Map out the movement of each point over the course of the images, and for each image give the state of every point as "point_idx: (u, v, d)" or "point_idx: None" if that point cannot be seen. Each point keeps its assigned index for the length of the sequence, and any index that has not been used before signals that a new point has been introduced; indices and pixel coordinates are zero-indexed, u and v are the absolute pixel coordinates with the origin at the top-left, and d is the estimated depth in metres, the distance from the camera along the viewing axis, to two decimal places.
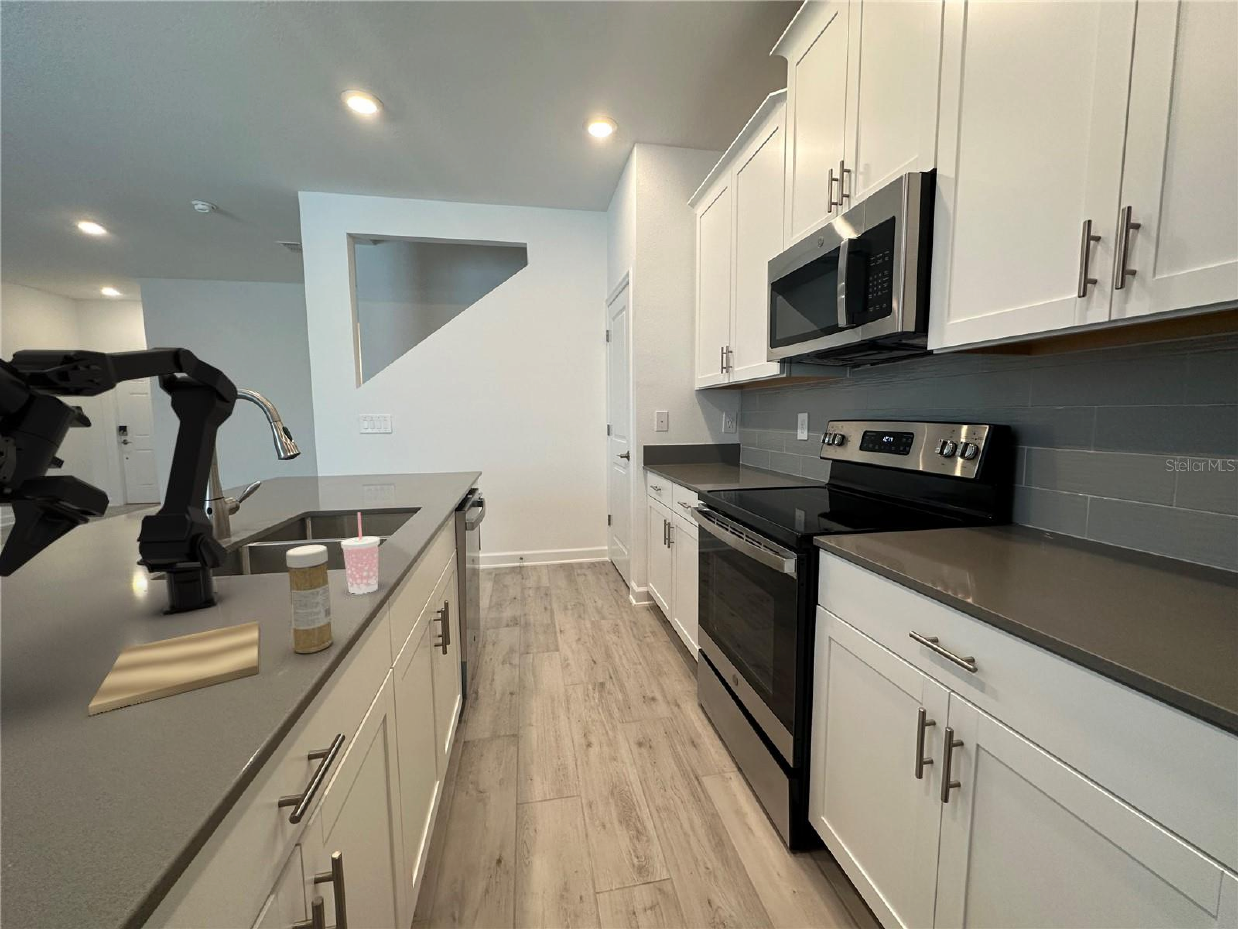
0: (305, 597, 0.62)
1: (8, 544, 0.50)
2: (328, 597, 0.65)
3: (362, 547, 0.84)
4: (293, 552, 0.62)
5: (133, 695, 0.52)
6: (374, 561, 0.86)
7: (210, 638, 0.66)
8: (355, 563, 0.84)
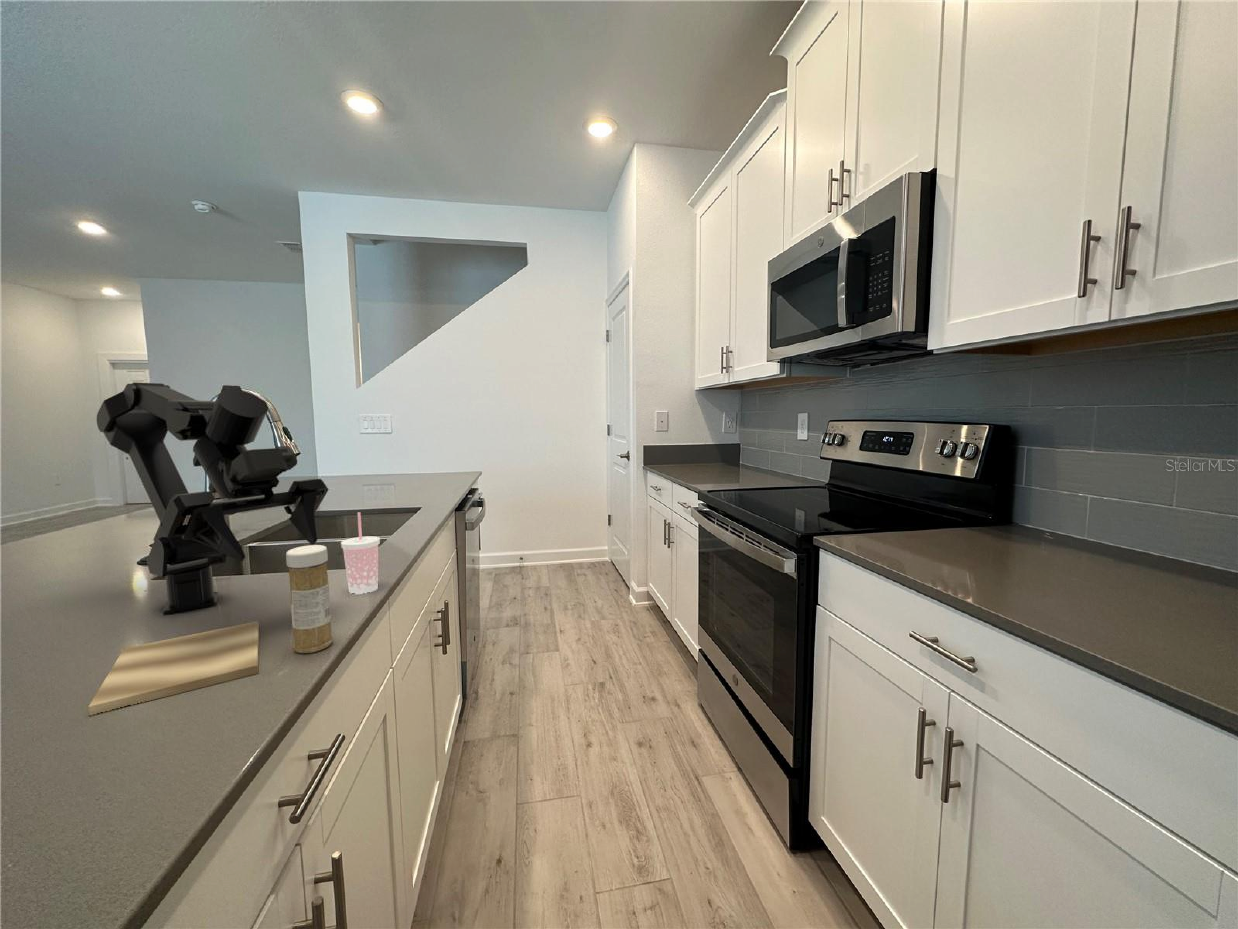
0: (305, 597, 0.62)
1: (308, 523, 0.71)
2: (328, 597, 0.65)
3: (362, 547, 0.84)
4: (293, 552, 0.62)
5: (133, 695, 0.52)
6: (374, 561, 0.86)
7: (210, 638, 0.66)
8: (355, 563, 0.84)
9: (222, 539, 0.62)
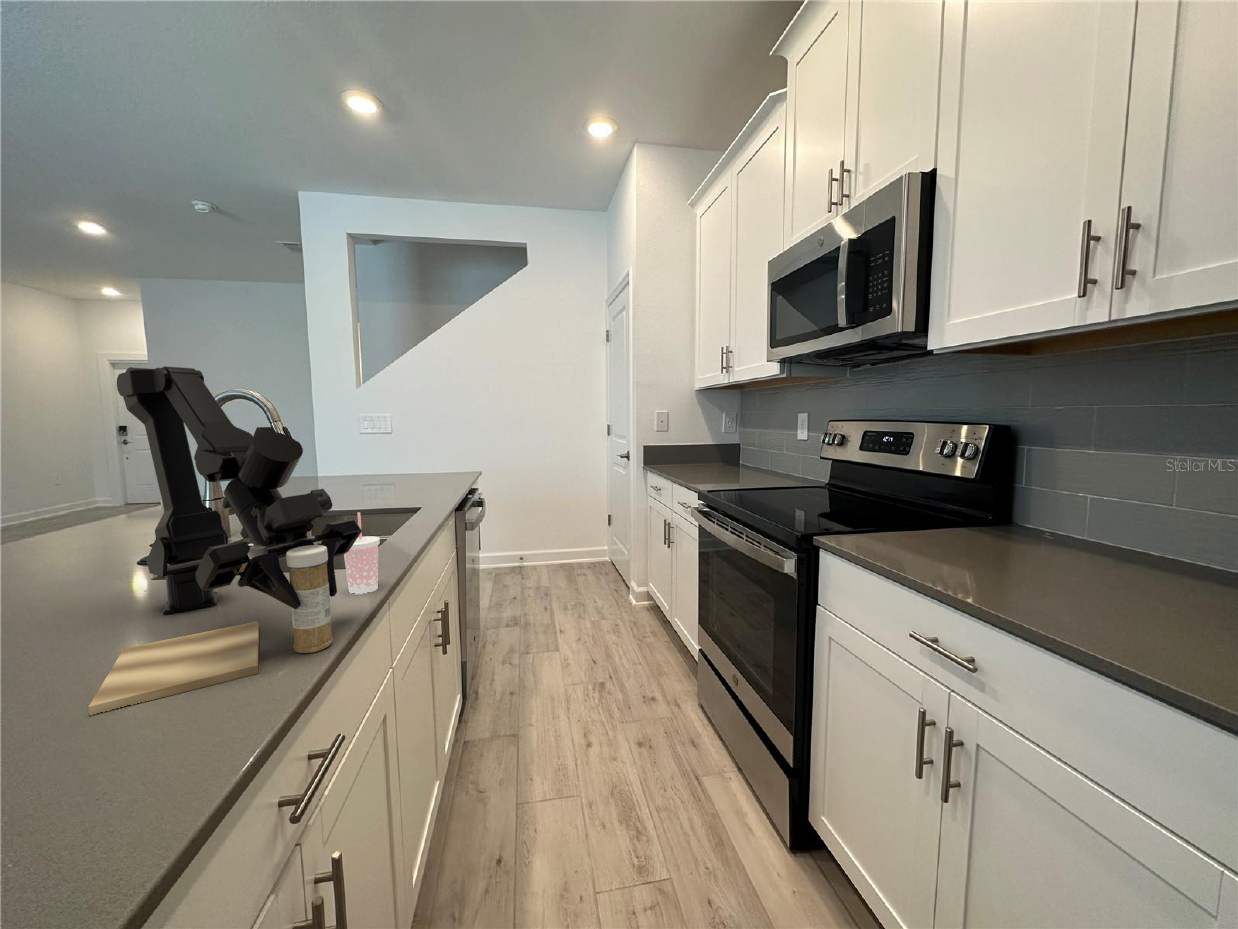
0: (305, 597, 0.62)
1: (327, 573, 0.67)
2: (328, 597, 0.65)
3: (362, 547, 0.84)
4: (293, 552, 0.62)
5: (133, 695, 0.52)
6: (374, 561, 0.86)
7: (210, 638, 0.66)
8: (354, 563, 0.84)
9: (278, 587, 0.61)
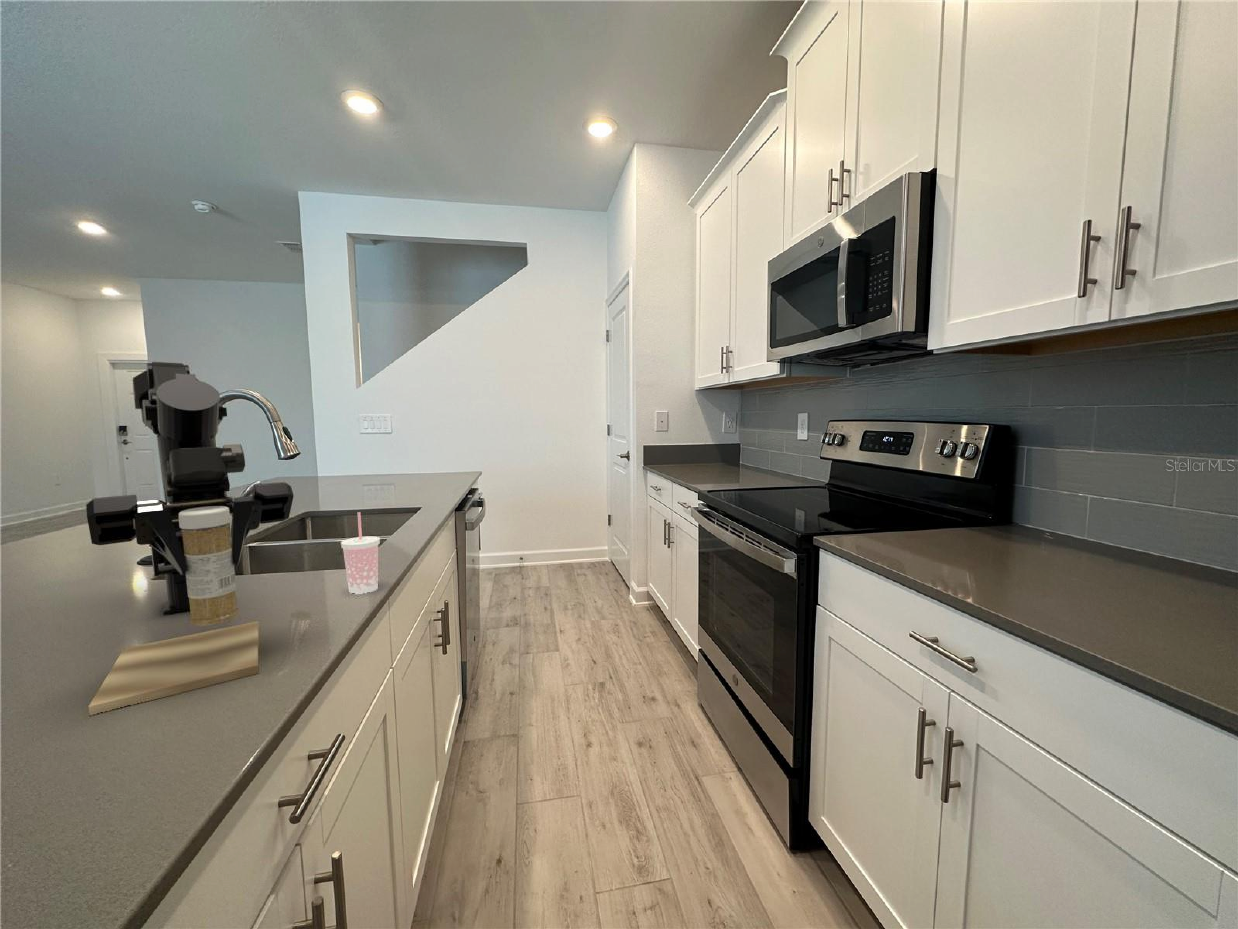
0: (193, 563, 0.55)
1: (234, 538, 0.59)
2: (227, 566, 0.58)
3: (362, 547, 0.84)
4: (184, 511, 0.55)
5: (133, 695, 0.52)
6: (374, 561, 0.86)
7: (210, 638, 0.66)
8: (355, 563, 0.84)
9: (166, 548, 0.55)
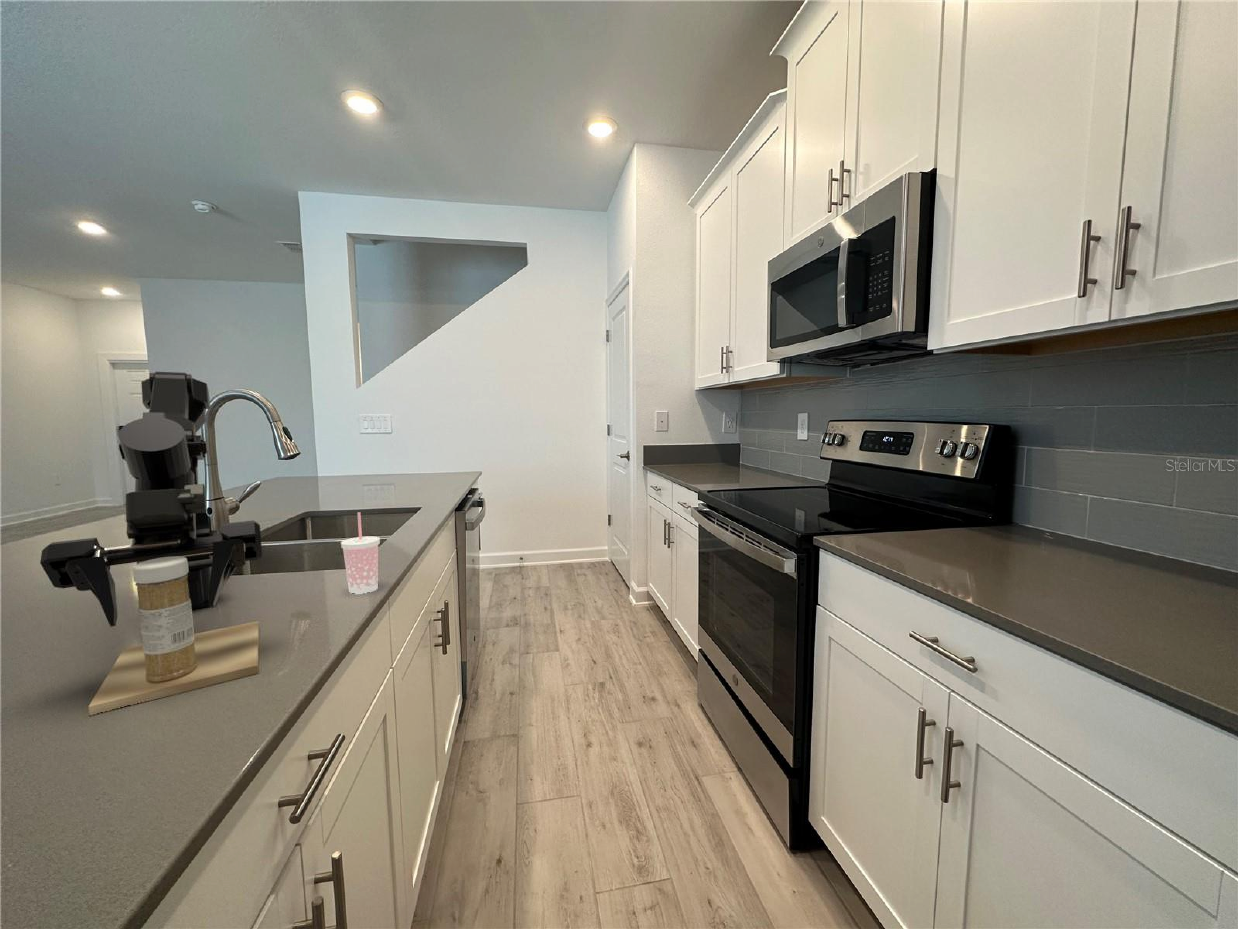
0: (145, 618, 0.54)
1: (211, 579, 0.58)
2: (182, 620, 0.56)
3: (362, 547, 0.84)
4: (138, 564, 0.54)
5: (133, 695, 0.52)
6: (374, 561, 0.86)
7: (210, 638, 0.66)
8: (355, 563, 0.84)
9: (97, 597, 0.53)
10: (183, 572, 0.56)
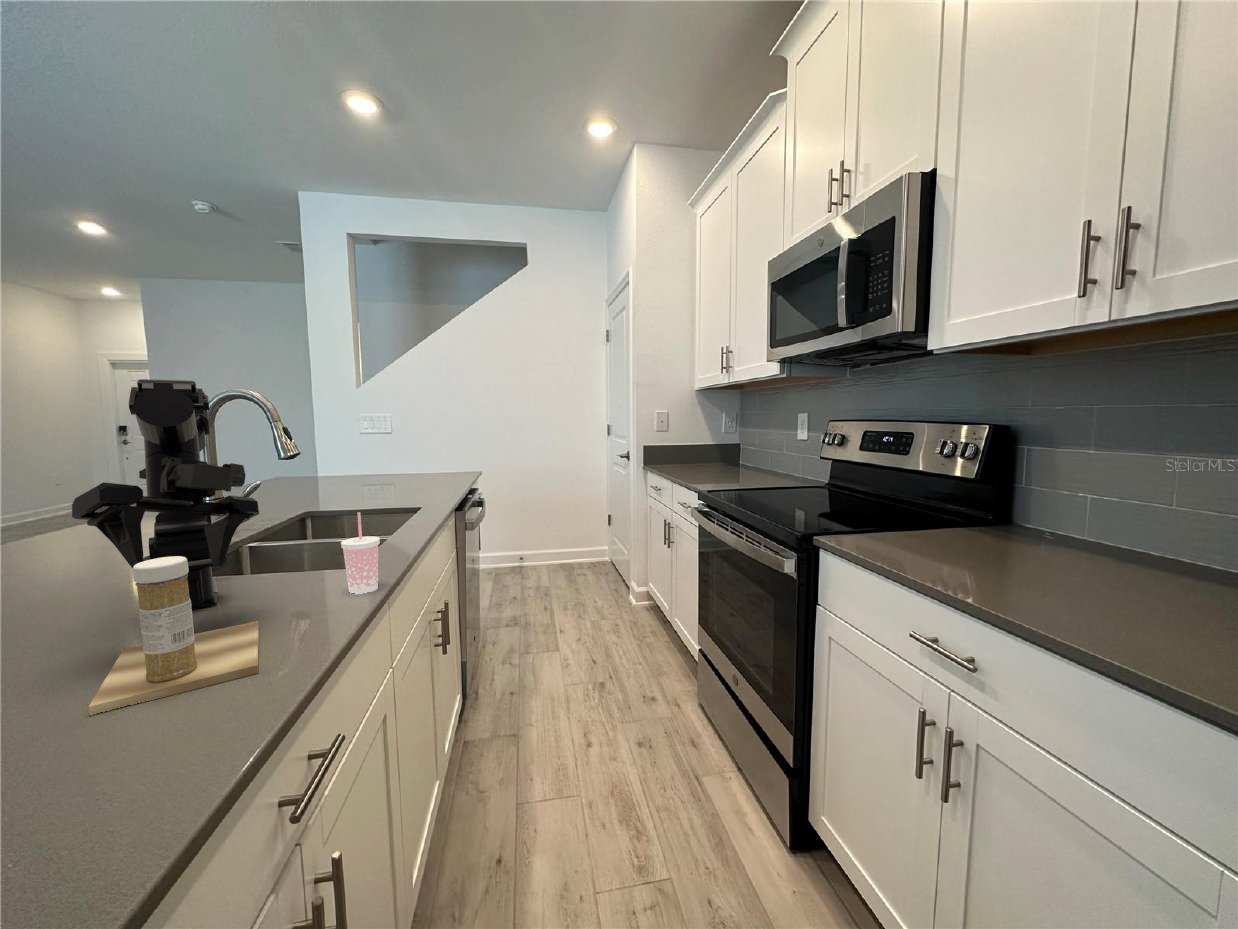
0: (145, 618, 0.54)
1: (222, 544, 0.69)
2: (182, 620, 0.56)
3: (362, 547, 0.84)
4: (138, 564, 0.54)
5: (133, 695, 0.52)
6: (374, 561, 0.86)
7: (210, 638, 0.66)
8: (355, 563, 0.84)
9: (128, 541, 0.60)
10: (183, 572, 0.56)
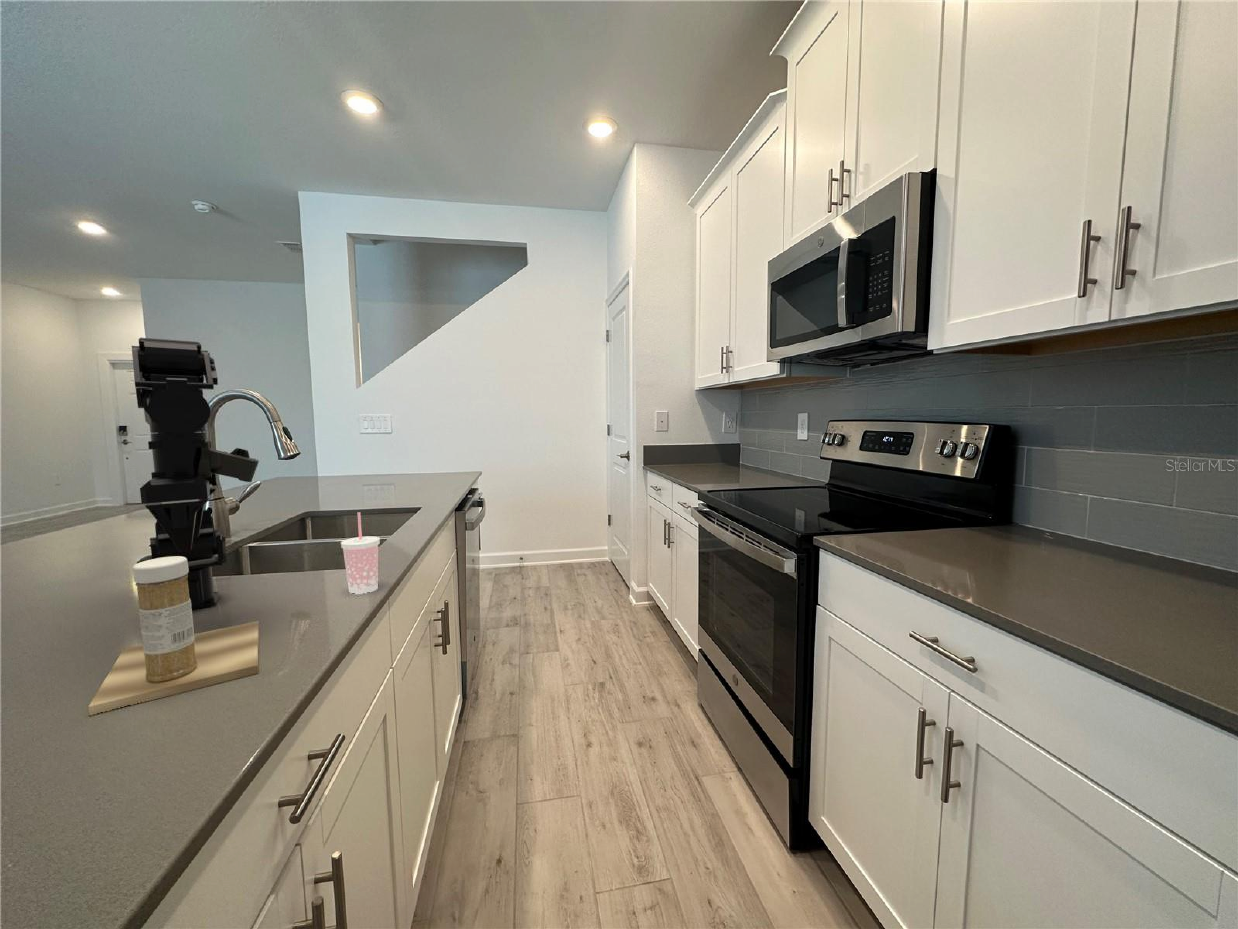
0: (145, 618, 0.54)
1: (199, 516, 0.73)
2: (182, 620, 0.56)
3: (362, 547, 0.84)
4: (138, 564, 0.54)
5: (133, 695, 0.52)
6: (374, 561, 0.86)
7: (210, 638, 0.66)
8: (354, 563, 0.84)
9: (187, 527, 0.64)
10: (183, 572, 0.56)
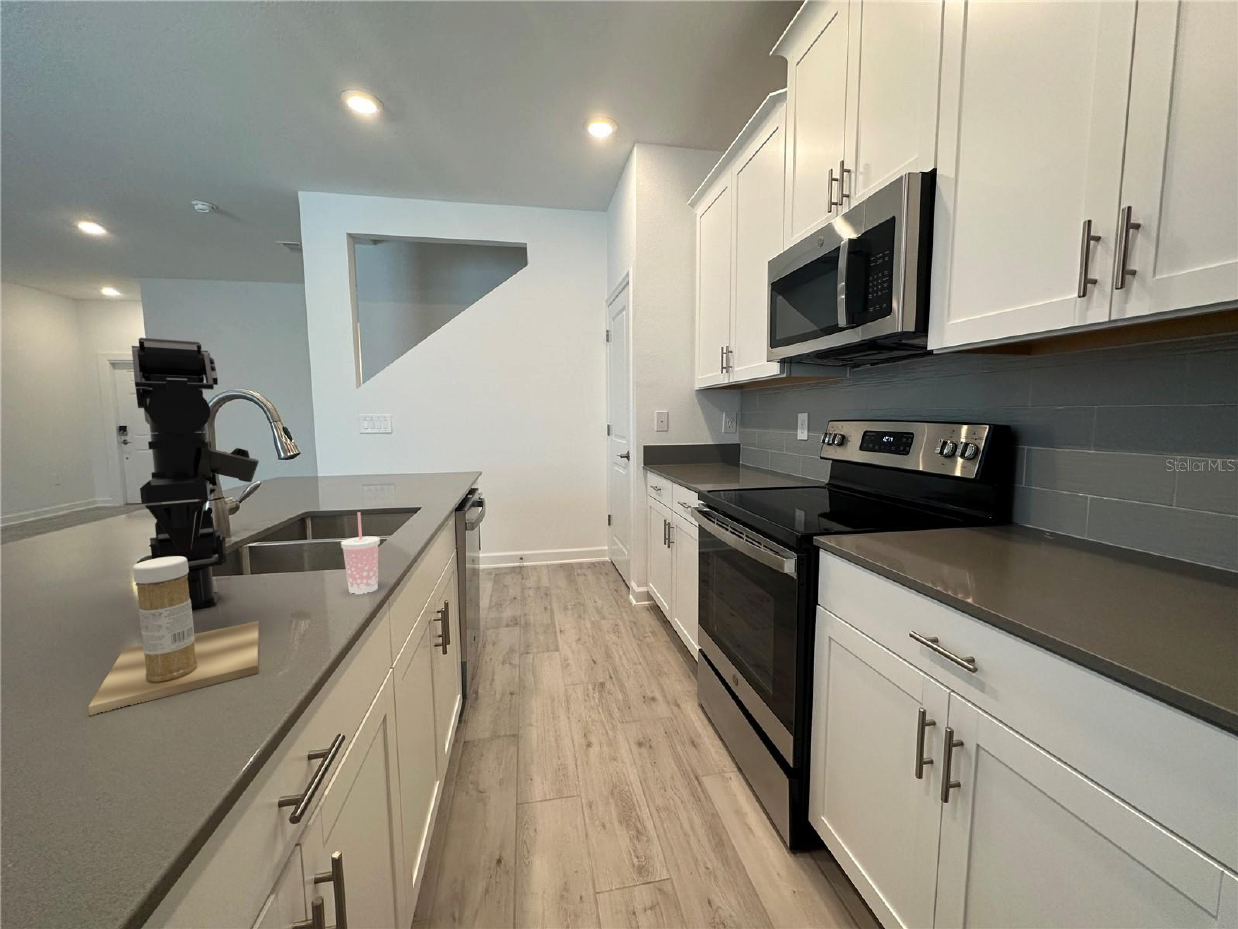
0: (145, 618, 0.54)
1: (199, 516, 0.73)
2: (182, 620, 0.56)
3: (362, 547, 0.84)
4: (138, 564, 0.54)
5: (133, 695, 0.52)
6: (374, 561, 0.86)
7: (210, 638, 0.66)
8: (355, 563, 0.84)
9: (187, 528, 0.64)
10: (183, 572, 0.56)
